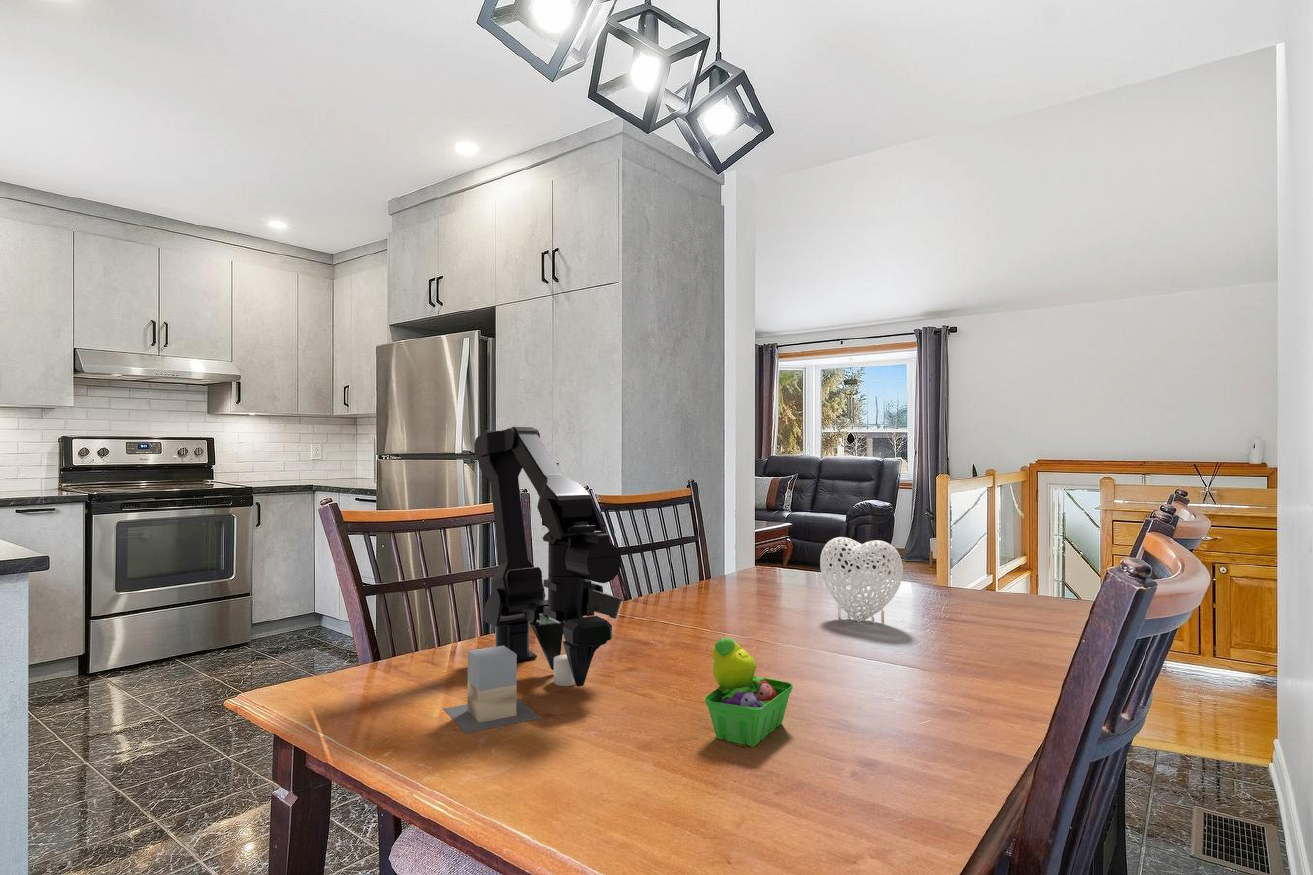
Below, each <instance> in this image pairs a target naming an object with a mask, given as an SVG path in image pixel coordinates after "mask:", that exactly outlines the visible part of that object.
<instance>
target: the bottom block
mask: <svg viewBox="0 0 1313 875" xmlns="http://www.w3.org/2000/svg"><path fill="white" fill-rule="evenodd" d="M516 697H517V685H513V686H507V687H501V688H495V689H490V690H484V691H478V690H477V689H476V688H475V687H474V686H473V685H472V684H471V683H470V682H468V681H467V699H466V700H467V703H466V704H467V711H468V712H469V713H470V714H471V715H472V716H473V717H474V718H475V719H476V720H477V721H478V722H479V723H481V722H486V721H491V720H496V719H501V718H506V717H511V716H516Z"/></svg>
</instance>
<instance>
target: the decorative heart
mask: <svg viewBox="0 0 1313 875" xmlns="http://www.w3.org/2000/svg"><path fill="white" fill-rule="evenodd" d="M843 549H845V550H843ZM840 554H842V556H841V555H840ZM884 557H885V558H884ZM839 560H840V561H839ZM888 560H889V561H888ZM845 561H846V562H847V563H846V562H845ZM884 563H885V564H884ZM819 564H820V565H819V567H820V573H821V576H822V580H823V582H824V585H825V586H826V589H827V590H828V593H829V594H830V595H831V597H832V598H833V599H834V601H835V602H836V604H837V618H838V617H841V615H842V610H843V611H844V612H845V613H847V619H848V618H850V619H851V618H852V619H853V620H854V621H855V620H856V621H855V622H858V621H863V622H865V621H866V620H868V619H870V618H871V623H874V624H875V617H874V616H875V615H876V614H877V613H879V612H881V613H880V614H881V615H880V616H881V618H880V621H881V622H880V624H881V623H882V624H884V625H885V610H883V609H884V608H885V607H886V606H887V605H888V604H889V603H890V602H891V601H892V600H893V598H894V597H895V595H896V594H897V592H898V590H899V589H900V586H901V584H902V579H903V572H904V565H903V560H902V558H901V555H900V553H899V551H898V550H897V548H895V547H894V545H892V544H891V543H889V542H886V541H884V540H878V539H877V540H876V539H875V540H869V541H865V542H864V543H860V542H858V541H856V540H854V539H852V538H849V537H846V536H845V537H844V536H838V537H834V538H832V539H830V540H828V541H827V542H826V544H825V545H824V546H823V548H822V550H821V553H820V559H819ZM830 564H831V565H830ZM851 564H852V566H851ZM883 564H884V565H883ZM842 566H844V568H843V567H842ZM857 566H858V567H859V568H857ZM873 566H875V568H873ZM849 571H850V572H849ZM889 571H890V574H889ZM847 587H849V588H850V589H847ZM867 587H869V588H870V589H868V588H867ZM865 594H867V595H865ZM859 595H860V596H859ZM841 618H842V617H841Z"/></svg>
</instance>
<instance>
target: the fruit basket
mask: <svg viewBox="0 0 1313 875" xmlns="http://www.w3.org/2000/svg"><path fill="white" fill-rule="evenodd" d="M712 658H713V668H712V670H713V675H714V679H715V681H716V683H717V684H718V686H719V687H718V688H716V689H715V690H713V691H712V692H710V693H708V694H707V695H706V696H704V700H705V704H706V706H707V707H708V708H707V709H708V712H709V716H710V719H711V722H712V726H713V729H714V733H715V734H714V735H715V737H716V739H719V740H725V741H728V742H731V743H735V744H736V743H737V744H740V745H747V746H749V747H756V746H757V745H758V744H759V743H760V741H763V740H764V739H765V738H766V737H767V736H768V735H769V734H771V733H772V732H774V730H776V728H778V727H779V726H781V725H782V724H783V720H784V717H785V713H786V710H787V705H788V701H789V698H790V695H791V693H792V690H793V687H794V684H793V683H792V682H789V681H784V680H780V679H779V680H777V679H774V678H773V679H772V678H767V677H762V676H757V675H755V674H756V673H755V672H756V669H757V662H756V660H755V659H754V657H753V656H751V655H750V654H749V653H748V652H747V651H746V650H745V649H744V648H743V647H742V646H740V645H739V644H738V643H737V642H736V641H734V639H732V638H730V637H724V638H723V637H722V638H721V637H720V638H718V639H717V641H716V642H715V644H714V648H713V651H712Z"/></svg>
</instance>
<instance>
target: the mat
mask: <svg viewBox="0 0 1313 875" xmlns="http://www.w3.org/2000/svg"><path fill="white" fill-rule="evenodd" d="M443 710H444V711H445V712H446V714H448V715H449V717H450V718H451V719H452V720H453V722H455V724H456V725H457V726H458V727H459V728H460V729H461V730H462V731H463V733H464V734H465V735H466V734H471V733H474V732H481V731H486V730H490V729H495V728H500V727H505V726H510V725H515V724H520V723H524V722H529V721H534V720H541V719H542V717H541V716H540V715H538V714H537V712H536V711H534V710H532V709H531V708H530V707H529V706H528V705H526V704H525V703H524V702H523V701H522V700H520V698H518V697H517V696H516V716H511V717H506V718H501V719H496V720H491V721H486V722H481V723H479V722H478V721H477V720H476V719H475V718H474V717H473V716H472V715H471V714H470V713H469V712H468V711H467V703H466V704H462V705H455V706H450V707H446V708H443Z"/></svg>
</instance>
